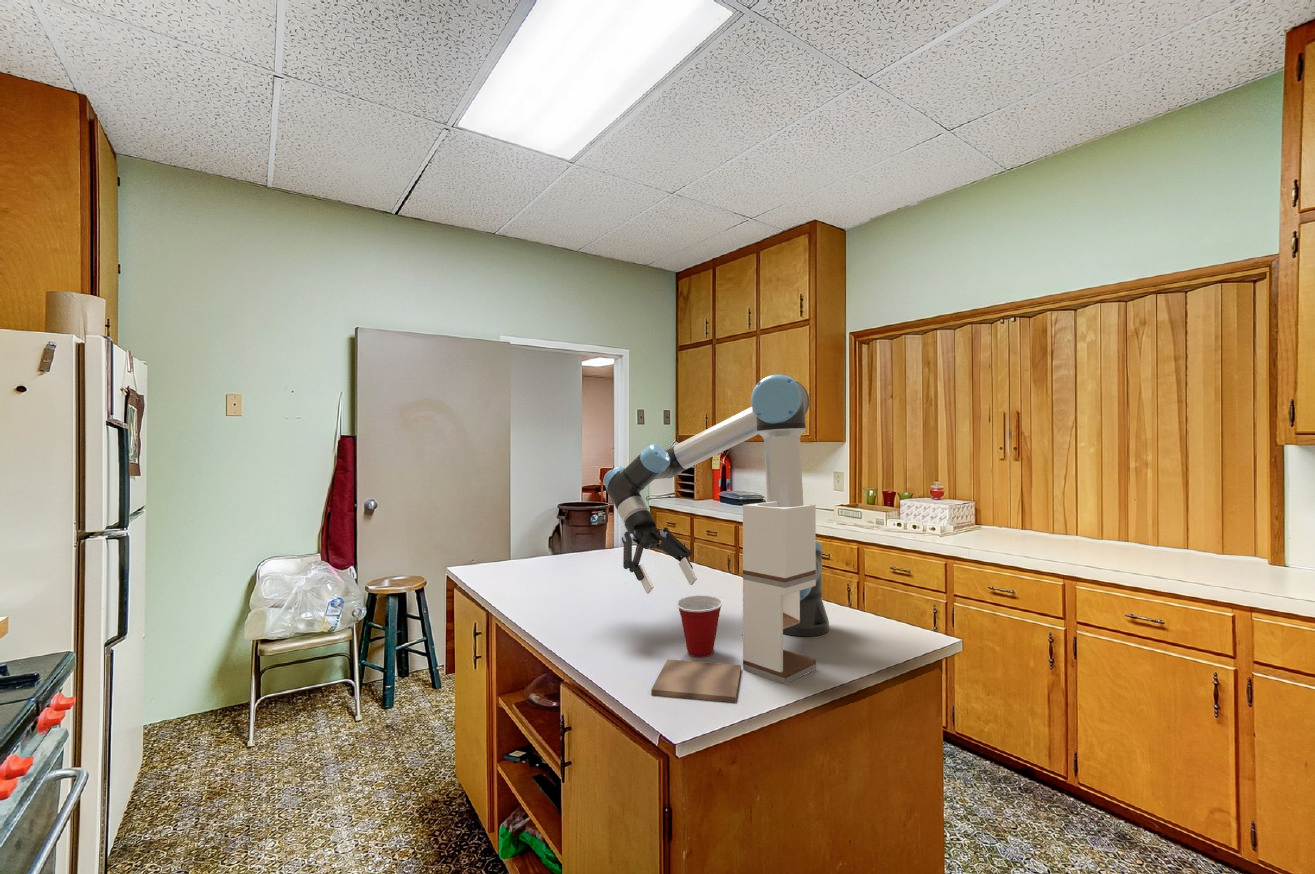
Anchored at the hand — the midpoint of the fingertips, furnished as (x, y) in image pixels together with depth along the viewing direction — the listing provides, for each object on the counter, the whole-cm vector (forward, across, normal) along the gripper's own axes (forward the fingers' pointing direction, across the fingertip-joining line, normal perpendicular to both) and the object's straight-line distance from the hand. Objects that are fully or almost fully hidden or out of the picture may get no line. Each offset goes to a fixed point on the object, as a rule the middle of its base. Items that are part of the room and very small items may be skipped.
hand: (672, 586), depth 140 cm
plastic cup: (+16, 0, -3) cm, 17 cm away
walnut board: (+24, +10, +5) cm, 27 cm away
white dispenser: (+29, -7, +9) cm, 31 cm away
